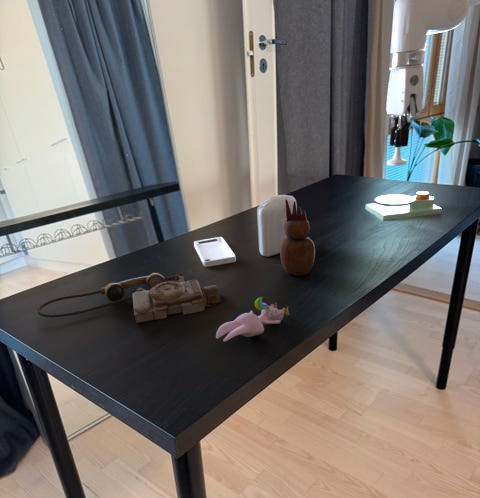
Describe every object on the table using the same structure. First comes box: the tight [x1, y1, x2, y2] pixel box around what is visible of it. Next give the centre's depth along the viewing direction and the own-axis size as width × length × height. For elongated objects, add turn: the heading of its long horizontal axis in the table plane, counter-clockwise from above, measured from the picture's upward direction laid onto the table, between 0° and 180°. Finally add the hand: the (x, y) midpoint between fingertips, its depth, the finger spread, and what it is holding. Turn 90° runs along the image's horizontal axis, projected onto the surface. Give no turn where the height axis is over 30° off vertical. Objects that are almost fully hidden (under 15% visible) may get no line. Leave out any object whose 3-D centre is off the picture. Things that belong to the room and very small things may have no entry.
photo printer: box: [256, 194, 298, 257], centre depth 94 cm, size 10×4×12 cm, turn 132°
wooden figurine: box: [279, 199, 316, 277], centre depth 81 cm, size 7×6×15 cm
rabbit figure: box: [215, 296, 290, 343], centre depth 65 cm, size 6×6×15 cm
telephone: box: [37, 272, 222, 324], centre depth 77 cm, size 15×33×4 cm, turn 105°
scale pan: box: [374, 194, 414, 207], centre depth 112 cm, size 10×10×1 cm
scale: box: [364, 195, 443, 222], centre depth 114 cm, size 16×12×3 cm
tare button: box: [415, 190, 430, 200], centre depth 113 cm, size 3×3×2 cm
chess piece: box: [386, 124, 407, 167], centre depth 106 cm, size 5×5×10 cm
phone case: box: [193, 236, 237, 268], centre depth 98 cm, size 7×1×15 cm
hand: (398, 145), depth 106 cm, fingers closed on chess piece
